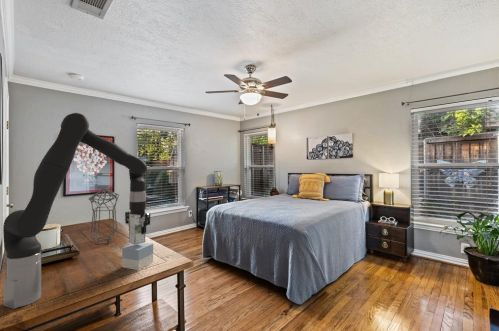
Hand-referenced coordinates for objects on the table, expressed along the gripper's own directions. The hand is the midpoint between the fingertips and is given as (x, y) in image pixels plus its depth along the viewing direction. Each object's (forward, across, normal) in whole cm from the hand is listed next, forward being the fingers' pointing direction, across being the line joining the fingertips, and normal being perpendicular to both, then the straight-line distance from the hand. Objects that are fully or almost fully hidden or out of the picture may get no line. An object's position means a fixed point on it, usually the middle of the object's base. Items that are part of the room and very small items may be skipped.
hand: (137, 233), depth 120 cm
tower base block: (+16, 0, 0) cm, 16 cm away
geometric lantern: (+16, -46, +20) cm, 53 cm away
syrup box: (+5, 0, 0) cm, 5 cm away
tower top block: (+11, 0, 0) cm, 11 cm away
